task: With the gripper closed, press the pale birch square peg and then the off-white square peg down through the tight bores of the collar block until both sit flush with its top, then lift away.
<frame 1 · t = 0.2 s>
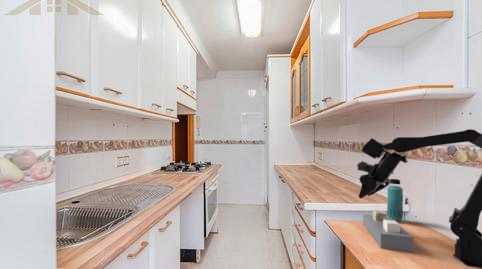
hand: (364, 196, 93), 15 cm above the table, tool tilted 30°, fingers open, 9 cm apart
birch peg: (379, 217, 94), point 6 cm above the table, slide at 0.0 cm
white peg: (391, 228, 83), point 6 cm above the table, slide at 0.0 cm
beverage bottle: (394, 221, 108), on the table
collar block: (384, 237, 88), on the table
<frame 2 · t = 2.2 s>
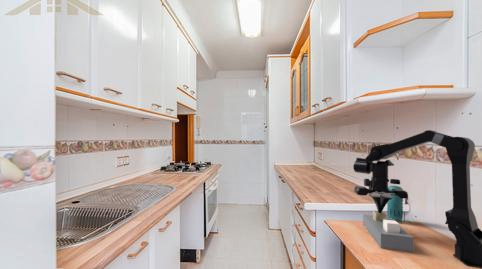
hand: (379, 212, 94), 8 cm above the table, tool pointing down, fingers closed, pressing on birch peg
birch peg: (379, 218, 94), point 5 cm above the table, slide at 0.2 cm, touching gripper
everything else where it was.
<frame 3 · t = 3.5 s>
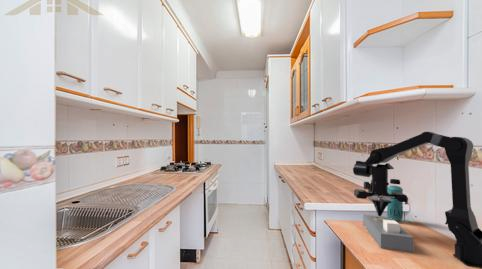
hand: (379, 215, 94), 6 cm above the table, tool pointing down, fingers closed
birch peg: (379, 225, 94), point 3 cm above the table, slide at 3.1 cm
everything else where it was.
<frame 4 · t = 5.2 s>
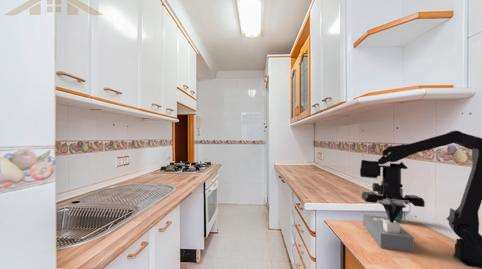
hand: (391, 222, 83), 8 cm above the table, tool pointing down, fingers closed, pressing on white peg
white peg: (391, 228, 83), point 5 cm above the table, slide at 0.1 cm, touching gripper
everything else where it was.
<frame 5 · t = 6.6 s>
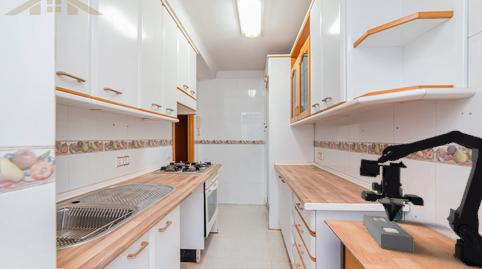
hand: (390, 221, 83), 8 cm above the table, tool pointing down, fingers closed
white peg: (391, 236, 83), point 3 cm above the table, slide at 3.1 cm
everything else where it was.
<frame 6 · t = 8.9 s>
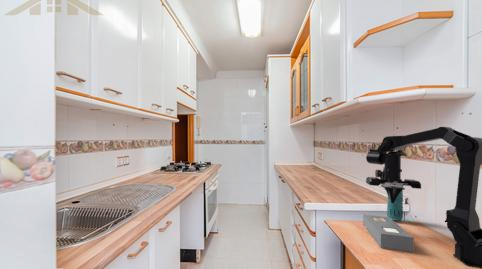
hand: (392, 203, 94), 12 cm above the table, tool pointing down, fingers closed
nothing on the table moved.
at the end: birch peg slide at 3.1 cm; white peg slide at 3.1 cm; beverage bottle moved 0.2 cm from its start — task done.
